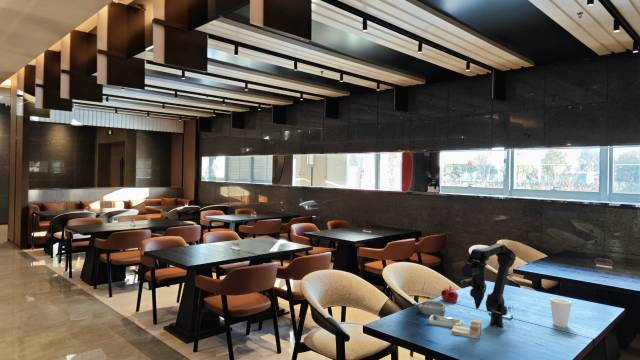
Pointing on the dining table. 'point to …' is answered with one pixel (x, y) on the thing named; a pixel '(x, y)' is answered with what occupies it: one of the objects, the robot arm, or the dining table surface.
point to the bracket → (469, 330)
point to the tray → (442, 323)
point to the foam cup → (560, 311)
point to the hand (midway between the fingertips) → (478, 306)
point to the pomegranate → (449, 295)
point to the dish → (433, 308)
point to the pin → (445, 319)
